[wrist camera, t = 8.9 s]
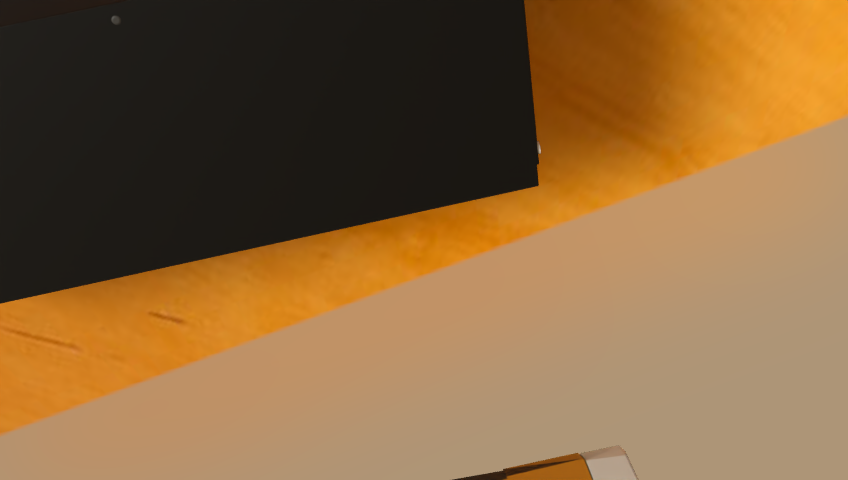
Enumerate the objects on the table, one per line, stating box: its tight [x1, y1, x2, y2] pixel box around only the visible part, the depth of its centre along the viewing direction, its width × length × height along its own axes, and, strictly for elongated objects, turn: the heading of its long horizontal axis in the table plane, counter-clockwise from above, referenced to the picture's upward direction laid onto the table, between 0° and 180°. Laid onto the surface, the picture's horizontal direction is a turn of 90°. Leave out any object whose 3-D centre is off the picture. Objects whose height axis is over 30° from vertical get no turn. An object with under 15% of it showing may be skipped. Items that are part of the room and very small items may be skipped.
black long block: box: [0, 0, 541, 303], centre depth 24 cm, size 8×8×28 cm
